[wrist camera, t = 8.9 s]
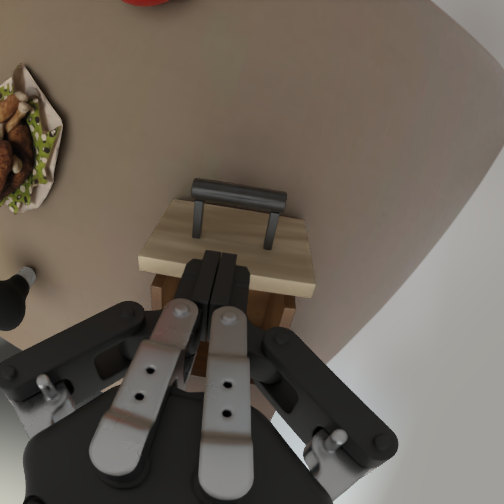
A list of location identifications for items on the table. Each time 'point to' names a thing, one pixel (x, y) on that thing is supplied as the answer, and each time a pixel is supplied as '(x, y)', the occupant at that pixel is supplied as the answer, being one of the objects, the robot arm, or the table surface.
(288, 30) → the table surface
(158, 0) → the apple
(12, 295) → the light bulb
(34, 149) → the bear figurine
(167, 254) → the drawer
